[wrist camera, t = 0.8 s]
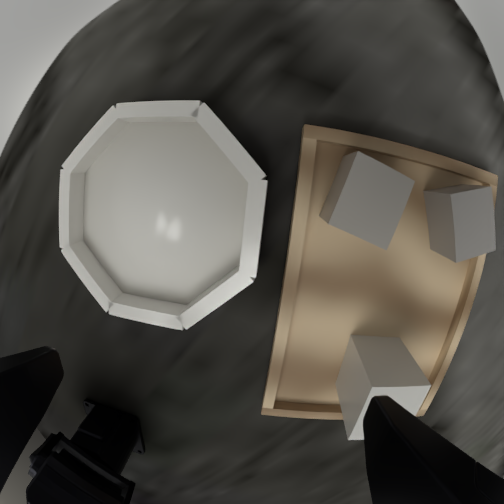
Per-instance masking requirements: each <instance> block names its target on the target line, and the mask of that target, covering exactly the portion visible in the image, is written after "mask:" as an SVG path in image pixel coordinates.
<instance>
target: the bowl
mask: <svg viewBox="0 0 504 504" xmlns="http://www.w3.org/2000/svg"><path fill="white" fill-rule="evenodd" d="M62 167H63V168H64V169H61V170H60V188H59V243H60V248H63V249H62V250H61V252H62V254H63V255H64V257H65V258H66V260H67V261H68V262H69V264H70V265H71V267H72V268H73V270H74V271H75V272H76V274H77V275H78V277H79V278H80V279H81V281H82V282H83V283H84V285H85V286H86V287H87V289H88V290H89V291H90V293H91V294H92V295H93V297H94V298H95V299H96V300H97V302H98V303H99V304H100V305H101V307H102V308H103V309H104V310H105V312H107V311H108V310H109V314H110V315H114V316H118V317H122V318H126V319H131V320H135V321H139V322H144V323H148V324H153V325H158V326H163V327H168V328H173V329H178V330H183V329H184V328H185V329H186V330H187V329H188V328H189V327H191V326H192V325H194V324H195V323H197V322H198V321H199V320H201V319H202V318H204V317H205V316H207V315H208V314H209V313H211V312H212V311H214V310H215V309H216V308H218V307H219V306H221V305H222V304H223V303H225V302H226V301H228V300H229V299H230V298H232V297H233V296H235V295H236V294H237V293H239V292H240V291H241V290H243V289H244V288H246V287H247V286H248V285H250V284H251V283H252V282H254V278H256V275H257V271H258V264H259V256H260V248H261V239H262V231H263V225H264V214H265V206H266V197H267V189H268V180H263V179H264V178H265V177H267V175H266V174H265V173H264V171H263V170H262V169H261V168H260V166H259V165H258V164H257V163H256V162H255V160H254V159H253V158H252V157H251V156H250V154H249V153H248V152H247V151H246V150H245V148H244V147H243V146H242V145H241V144H240V142H239V141H238V140H237V139H236V138H235V136H234V135H233V134H232V133H231V132H230V131H229V129H228V128H227V127H226V126H225V125H224V124H223V122H222V121H221V120H220V119H219V118H218V117H217V116H216V114H215V113H214V112H213V111H212V110H211V109H210V108H209V107H208V106H207V105H206V104H205V103H202V102H201V101H200V100H172V101H144V102H128V103H117V104H116V106H114V105H113V106H112V107H111V108H110V109H109V110H108V111H107V112H106V113H105V114H104V115H103V117H102V118H101V119H100V120H99V121H98V122H97V123H96V124H95V125H94V127H93V128H92V129H91V130H90V131H89V132H88V134H87V135H86V136H85V137H84V138H83V139H82V141H81V142H80V143H79V144H78V146H77V147H76V148H75V149H74V151H73V152H72V153H71V154H70V156H69V157H68V158H67V160H66V161H65V162H64V163H63V165H62Z"/></svg>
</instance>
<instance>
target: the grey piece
mask: <svg viewBox="0 0 504 504" xmlns="http://www.w3.org/2000/svg"><path fill="white" fill-rule="evenodd" d="M423 192H424V199H425V206H426V213H427V222H428V231H429V241H430V249H431V250H433V251H434V252H436V253H438V254H440V255H442V256H444V257H446V258H448V259H450V260H452V261H453V262H455V263H457V262H461V261H464V260H467V259H470V258H473V257H477V256H480V255H483V254H486V253H489V252H492V251H495V250H496V243H495V218H494V205H493V195H492V186H481V185H470V184H459V185H453V186H448V187H442V188H437V189H431V190H426V191H423Z"/></svg>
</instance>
